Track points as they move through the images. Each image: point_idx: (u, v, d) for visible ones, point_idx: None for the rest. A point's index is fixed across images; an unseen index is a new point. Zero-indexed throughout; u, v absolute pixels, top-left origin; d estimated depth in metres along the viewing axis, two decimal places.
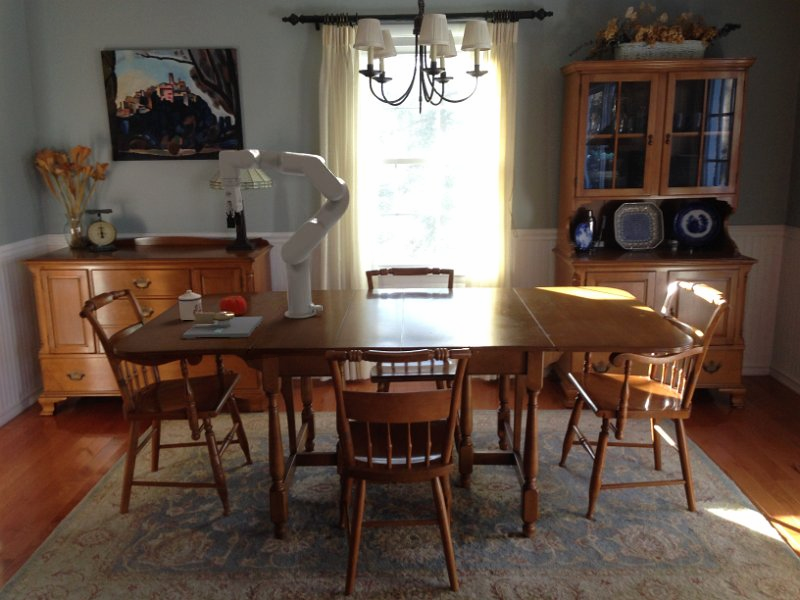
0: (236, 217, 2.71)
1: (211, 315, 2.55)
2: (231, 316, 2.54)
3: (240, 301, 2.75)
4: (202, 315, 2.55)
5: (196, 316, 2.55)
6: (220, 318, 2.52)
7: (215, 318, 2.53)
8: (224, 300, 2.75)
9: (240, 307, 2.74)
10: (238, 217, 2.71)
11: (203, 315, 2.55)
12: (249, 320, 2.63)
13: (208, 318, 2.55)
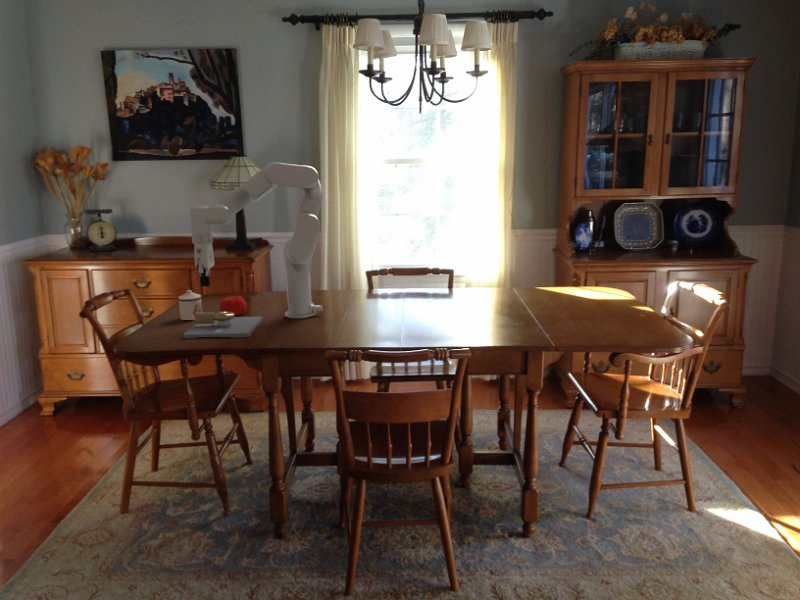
0: None
1: (211, 315, 2.55)
2: (231, 316, 2.54)
3: (240, 301, 2.75)
4: (202, 315, 2.55)
5: (196, 316, 2.55)
6: (220, 318, 2.52)
7: (215, 318, 2.53)
8: (224, 300, 2.75)
9: (240, 307, 2.74)
10: None
11: (203, 315, 2.55)
12: (249, 320, 2.63)
13: (208, 318, 2.55)
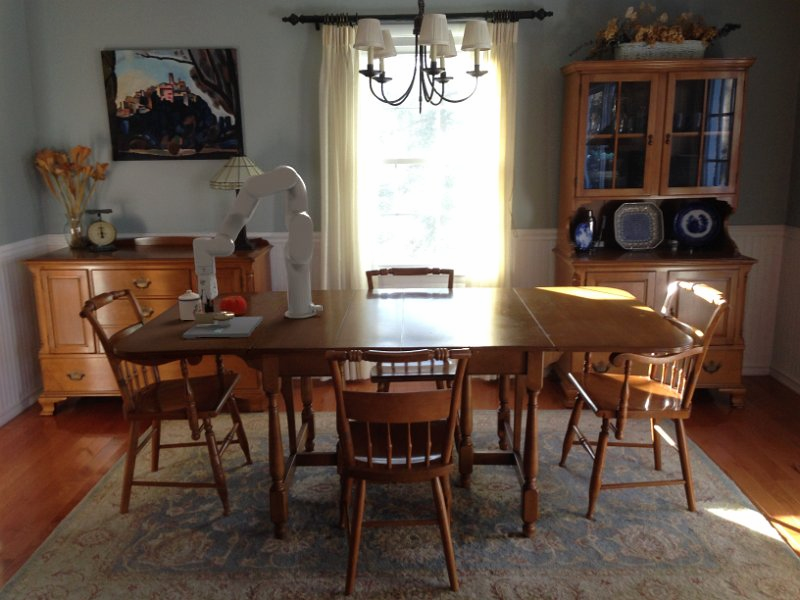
0: None
1: (211, 315, 2.55)
2: (231, 316, 2.54)
3: (240, 301, 2.75)
4: (202, 315, 2.55)
5: (196, 316, 2.55)
6: (220, 318, 2.52)
7: (215, 318, 2.53)
8: (224, 300, 2.75)
9: (240, 307, 2.74)
10: None
11: (203, 315, 2.55)
12: (249, 320, 2.63)
13: (208, 318, 2.55)
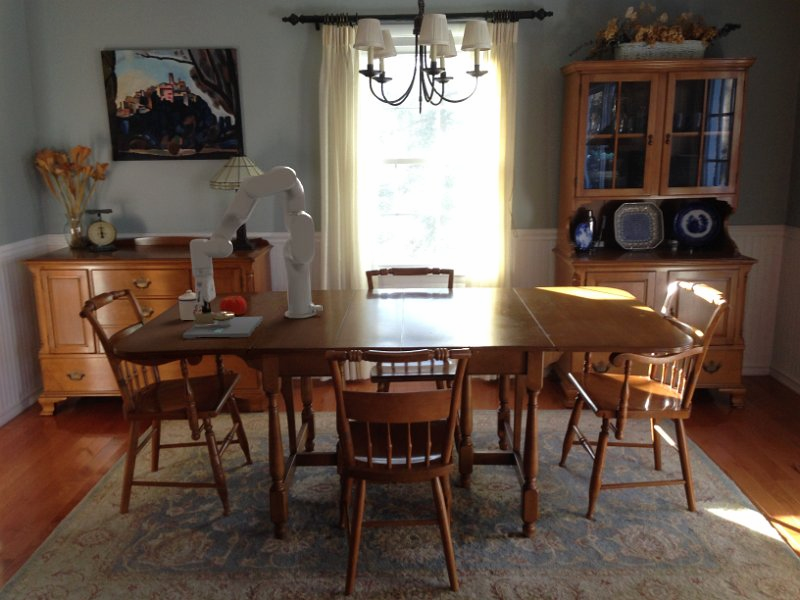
0: None
1: (211, 315, 2.55)
2: (231, 316, 2.54)
3: (240, 301, 2.75)
4: (202, 315, 2.55)
5: (196, 316, 2.55)
6: (220, 318, 2.52)
7: (215, 318, 2.53)
8: (224, 300, 2.75)
9: (240, 307, 2.74)
10: None
11: (203, 315, 2.55)
12: (249, 320, 2.63)
13: (208, 318, 2.55)
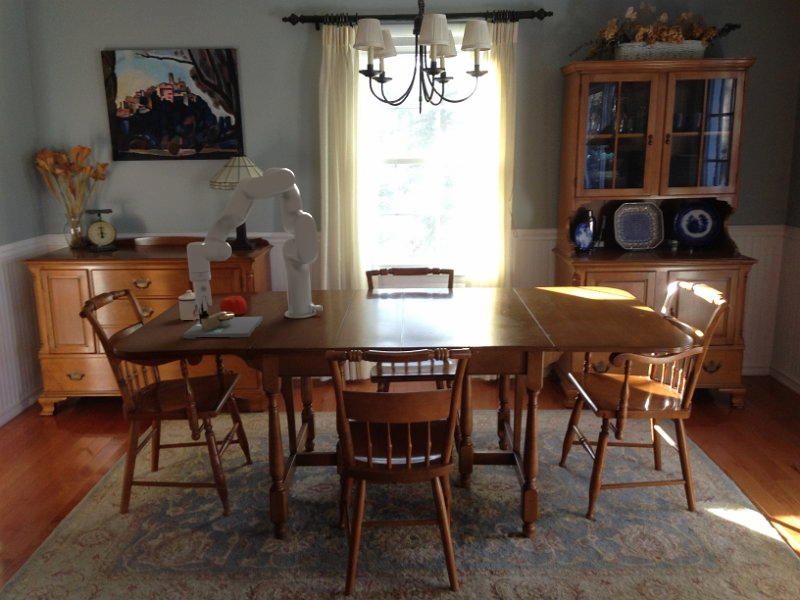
0: None
1: (218, 317, 2.52)
2: None
3: (240, 301, 2.75)
4: (211, 319, 2.49)
5: (207, 321, 2.47)
6: (231, 316, 2.54)
7: (226, 318, 2.53)
8: (224, 300, 2.75)
9: (240, 307, 2.74)
10: None
11: (212, 319, 2.49)
12: (249, 320, 2.63)
13: (216, 321, 2.51)
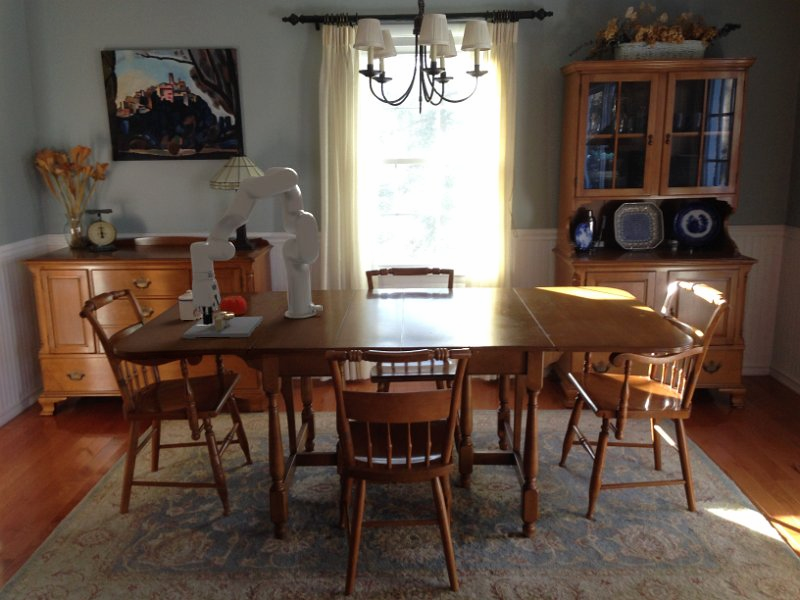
0: None
1: (224, 317, 2.52)
2: None
3: (240, 301, 2.75)
4: (222, 319, 2.49)
5: (221, 321, 2.46)
6: None
7: (231, 317, 2.54)
8: (224, 300, 2.75)
9: (240, 307, 2.74)
10: None
11: (223, 318, 2.49)
12: (249, 320, 2.63)
13: (224, 320, 2.51)
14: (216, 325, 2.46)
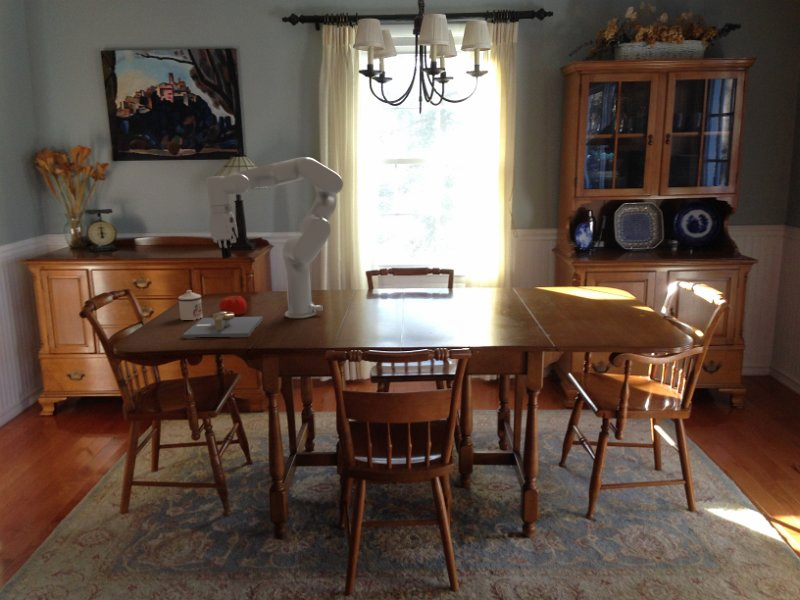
0: None
1: (224, 317, 2.52)
2: None
3: (240, 301, 2.75)
4: (222, 319, 2.49)
5: (221, 321, 2.46)
6: None
7: (231, 317, 2.54)
8: (224, 300, 2.75)
9: (240, 307, 2.74)
10: None
11: (223, 318, 2.49)
12: (249, 320, 2.63)
13: (224, 320, 2.51)
14: (216, 325, 2.46)
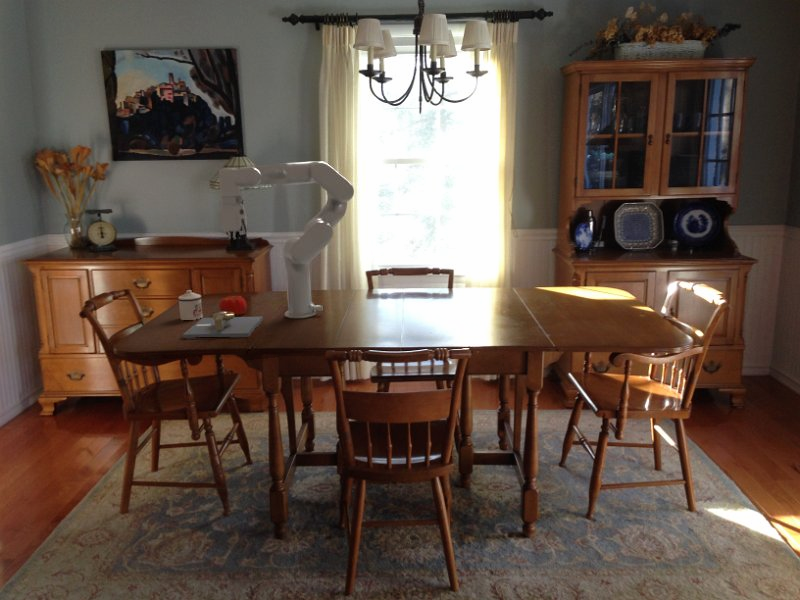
0: None
1: (224, 317, 2.52)
2: None
3: (240, 301, 2.75)
4: (222, 319, 2.49)
5: (221, 321, 2.46)
6: None
7: (231, 317, 2.54)
8: (224, 300, 2.75)
9: (240, 307, 2.74)
10: None
11: (223, 318, 2.49)
12: (249, 320, 2.63)
13: (224, 320, 2.51)
14: (216, 325, 2.46)
